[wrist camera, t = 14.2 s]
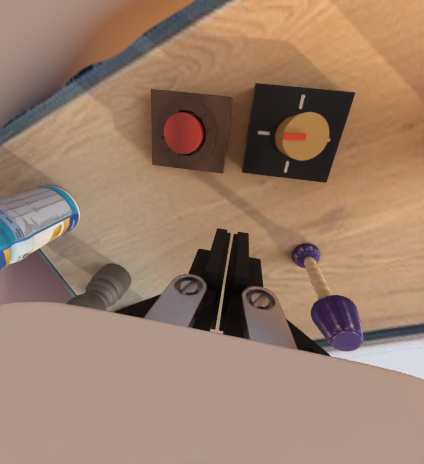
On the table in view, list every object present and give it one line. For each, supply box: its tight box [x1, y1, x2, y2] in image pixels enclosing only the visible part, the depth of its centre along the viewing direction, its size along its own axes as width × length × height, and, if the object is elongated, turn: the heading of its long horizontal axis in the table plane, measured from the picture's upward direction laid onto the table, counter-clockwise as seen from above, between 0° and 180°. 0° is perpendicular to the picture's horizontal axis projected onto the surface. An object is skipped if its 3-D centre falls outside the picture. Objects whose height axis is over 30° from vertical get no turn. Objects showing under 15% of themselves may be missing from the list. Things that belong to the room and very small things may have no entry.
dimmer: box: [242, 83, 355, 183], centre depth 28 cm, size 11×10×3 cm
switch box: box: [151, 89, 233, 173], centre depth 28 cm, size 10×9×4 cm
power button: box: [164, 112, 204, 154], centre depth 26 cm, size 4×4×2 cm
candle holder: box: [67, 264, 131, 311], centre depth 31 cm, size 6×6×25 cm
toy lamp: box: [292, 244, 363, 351], centre depth 28 cm, size 5×5×17 cm
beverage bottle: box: [0, 185, 80, 271], centre depth 29 cm, size 8×8×20 cm
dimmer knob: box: [275, 112, 329, 161], centre depth 24 cm, size 4×4×6 cm
